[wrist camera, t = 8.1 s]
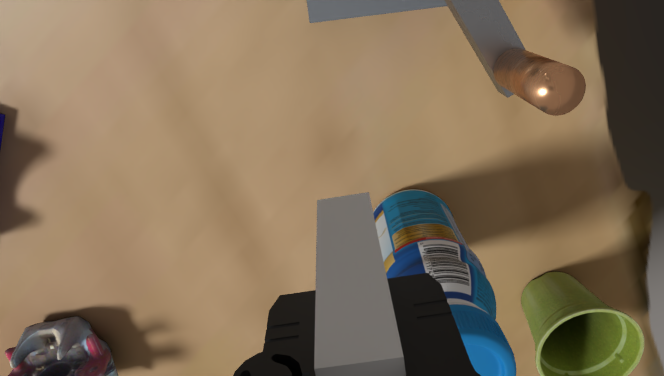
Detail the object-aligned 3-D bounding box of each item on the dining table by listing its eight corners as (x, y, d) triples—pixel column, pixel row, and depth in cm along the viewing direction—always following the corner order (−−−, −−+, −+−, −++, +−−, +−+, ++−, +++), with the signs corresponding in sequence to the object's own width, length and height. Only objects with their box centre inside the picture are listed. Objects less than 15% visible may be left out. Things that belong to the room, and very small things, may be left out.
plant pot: (493, 326, 53) (523, 388, 45) (519, 251, 49) (556, 303, 41) (576, 336, 53) (620, 399, 45) (608, 262, 50) (662, 316, 42)
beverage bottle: (471, 223, 48) (562, 375, 29) (408, 277, 50) (456, 450, 32) (411, 168, 46) (470, 296, 27) (348, 227, 48) (362, 383, 29)
